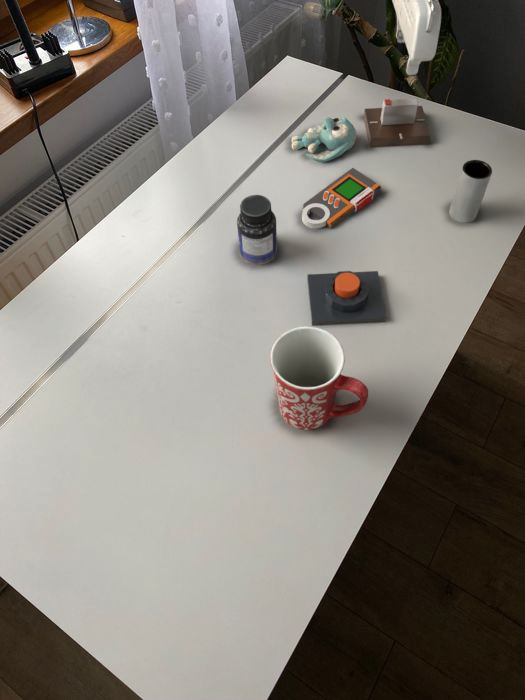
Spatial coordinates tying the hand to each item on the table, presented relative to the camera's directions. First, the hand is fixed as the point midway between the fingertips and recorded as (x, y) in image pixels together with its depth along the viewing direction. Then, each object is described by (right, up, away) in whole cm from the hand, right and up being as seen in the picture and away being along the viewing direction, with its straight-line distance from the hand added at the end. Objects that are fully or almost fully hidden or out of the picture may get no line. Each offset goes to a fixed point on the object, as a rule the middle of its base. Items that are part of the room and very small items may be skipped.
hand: (406, 56), depth 101 cm
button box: (-12, -42, -8) cm, 45 cm away
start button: (-12, -40, -11) cm, 44 cm away
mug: (-17, -59, -18) cm, 64 cm away
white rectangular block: (+1, -7, +11) cm, 13 cm away
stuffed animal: (-13, -12, +12) cm, 21 cm away
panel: (+1, -9, +14) cm, 16 cm away
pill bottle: (-25, -34, -2) cm, 42 cm away
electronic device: (-11, -25, +3) cm, 28 cm away
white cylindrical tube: (+10, -27, +1) cm, 29 cm away
